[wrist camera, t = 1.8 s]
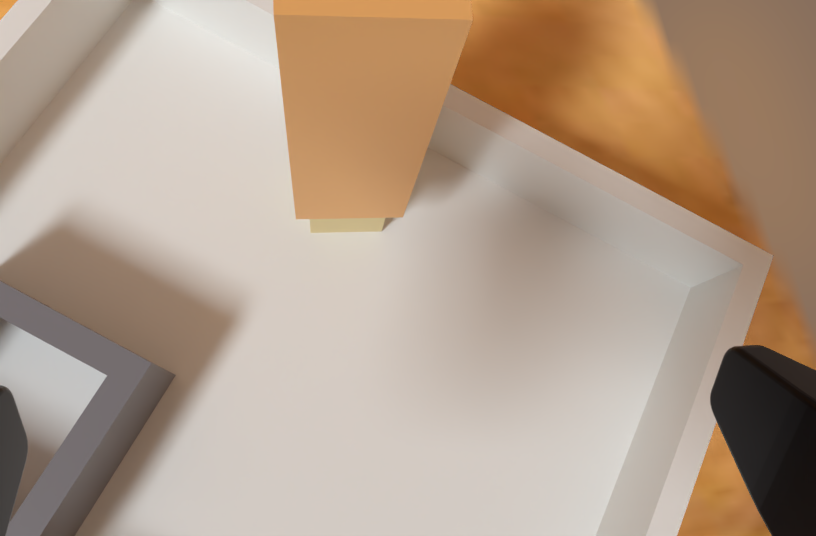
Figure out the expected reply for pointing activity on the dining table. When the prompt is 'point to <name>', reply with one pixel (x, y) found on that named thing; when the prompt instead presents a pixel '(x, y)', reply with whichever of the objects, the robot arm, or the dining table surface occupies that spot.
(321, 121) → the tan square peg
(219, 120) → the walled tray
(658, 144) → the dining table surface
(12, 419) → the robot arm
